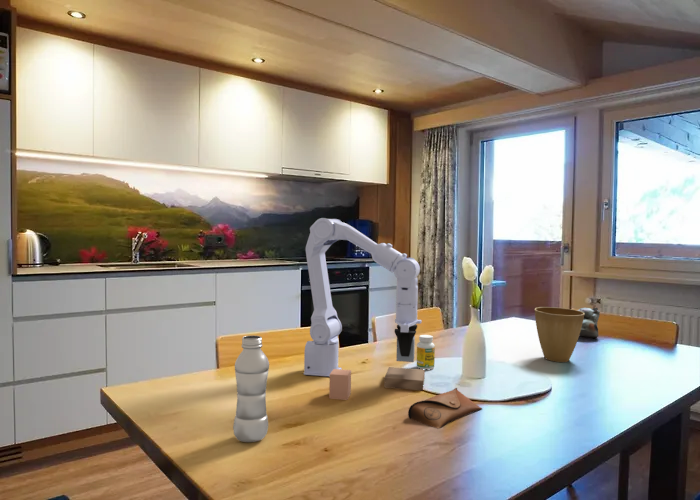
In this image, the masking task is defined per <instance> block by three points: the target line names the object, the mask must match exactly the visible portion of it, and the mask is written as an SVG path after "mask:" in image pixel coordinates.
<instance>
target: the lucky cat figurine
mask: <svg viewBox="0 0 700 500" xmlns="http://www.w3.org/2000/svg"><path fill="white" fill-rule="evenodd" d="M576 310H577V311H581V312H583V313H584V319H583V323H582V327H581V331H580V335H579V337H588V338H592V339H596V340H597V339H598V337H599V328H598V321H599V318H600V313H601V311H600V310H598V307H594V308H590V307H581V308H579V309H576Z"/></svg>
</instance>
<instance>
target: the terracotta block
mask: <svg viewBox="0 0 700 500" xmlns="http://www.w3.org/2000/svg"><path fill="white" fill-rule="evenodd" d="M328 390H329V392H328V393H329V396H328V397H329V400H330V399H331V400H332V399H333V400H342V401H343V400H344V401H345V400H346V401H347V400H349V398H350V396H351V394H352V369H333V370H332V372H331V373H330V377H329V389H328Z"/></svg>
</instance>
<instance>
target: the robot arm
mask: <svg viewBox="0 0 700 500" xmlns="http://www.w3.org/2000/svg"><path fill="white" fill-rule="evenodd" d="M309 232H310V233H309V236H308V239H307V242H306V245H305V256H306V262H307V269H308V270H307V271H308V276H309V283H310V290H311V297H312V303H313V312H312V315H311V317H310V321H311V324H310V328H309V335H310V338H311V339H312V340H308V341H306V343H305V347H304V354H303V355H304V359H303V360H304V361H303V362H304V363H303V364H304V366H303V369H304V370H303V371H304V372H303V375H305V376H317V377H319V376H320V377H329V378H330V373H331V372H332V370H333V369H341V370H343V369H342V367H339V338H338V337H339V335H340V334H341V332H342V331H343V325H342V322H341V320H340V319H339V317H338V313H337V310H336V309H335V307H334V306H333V301H332V300H333V299H332V294H331V293H332V292H331V287H330V279H329V273H328V272H329V271H328V268H327V267H328V266H327V261H326V260H327V259H326V252H327V251H328V250H329V248H330V247H331V246H332V245H333V244H334V243H336V242H337V241H341V240H343V241H349V242H350V243H352V244H353V245H355V246H357V247H358V248H360V249H362V250H363V251H366V252H367V253H369V254H370V255H371V258H372V261H374V262H375V263H376V264H378V265H379V266H381V267H383V268H385V269H386V270H387V271H389V272H391V273H393V274H394V276H395V278H396V291H395V294H396V295H395V296H396V297H395V318H394V322H395V324H396V328H394V334H395V337H396V340H397V339H398V342H399V348H400V354H401V356H407V357H409V354H410V350H411V344H412V340H413V338H414V336H415V335H416V333H417V329H418V324H419V325H420V324H422V319H418V304H419V303H418V297H419V290H418V289H419V286H418V282H419V280H418V276H419V274H420V273H421V267H420V264H419V262H418V261H417V260H416V259H415V258H414V257H408V254H407V253H401V252H400V251H398V250H397V249H395V248H393V244H391V243H385V242H381V243H377V242H375V241H373V239H371V238H369V237H368V236H367V235H365V234H364V233H362V232H360V231H359V230H357V229H356V228H355V227H354V226H351V225H350V224H348V223H345V222H344V221H343V222H342V221H341V219H337V218H326V217H321V218H318V219H317V220H315V222H314V223H313V224H312V225H310V227H309ZM415 337H416V336H415Z"/></svg>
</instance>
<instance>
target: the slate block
mask: <svg viewBox="0 0 700 500" xmlns="http://www.w3.org/2000/svg"><path fill="white" fill-rule="evenodd" d="M415 337H416V336H414V338H413V340H412V344H411V350H410V354H409V357H407V356H401V354H400V348H399V342H398V339H397V338H396V360H395V361H396V362H403V363H405V362H406V363H414V361H415V346H416V344H415V343H416V341H415V340H416V339H415Z"/></svg>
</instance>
